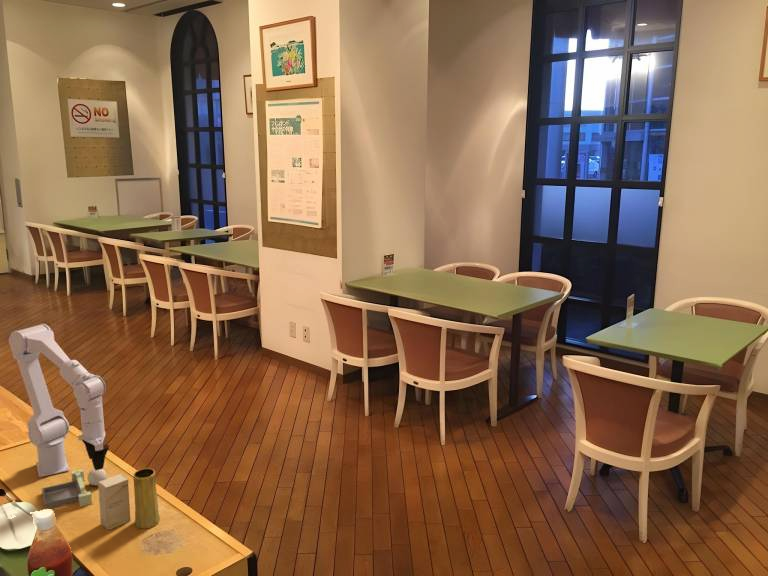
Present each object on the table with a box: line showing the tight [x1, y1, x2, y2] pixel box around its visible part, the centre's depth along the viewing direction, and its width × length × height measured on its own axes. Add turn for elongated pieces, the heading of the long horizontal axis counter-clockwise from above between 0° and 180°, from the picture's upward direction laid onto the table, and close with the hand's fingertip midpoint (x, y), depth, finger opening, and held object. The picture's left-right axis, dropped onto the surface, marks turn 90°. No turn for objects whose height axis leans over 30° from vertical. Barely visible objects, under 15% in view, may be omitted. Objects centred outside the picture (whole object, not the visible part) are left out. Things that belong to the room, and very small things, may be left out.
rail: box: [70, 468, 93, 508], centre depth 179 cm, size 16×3×3 cm, turn 33°
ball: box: [87, 468, 108, 487], centre depth 183 cm, size 5×5×5 cm
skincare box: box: [97, 473, 131, 531], centre depth 165 cm, size 6×4×12 cm
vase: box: [133, 467, 160, 530], centre depth 165 cm, size 6×6×14 cm
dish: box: [41, 480, 81, 509], centre depth 177 cm, size 9×9×2 cm
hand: (96, 463), depth 182 cm, fingers open, 7 cm apart
